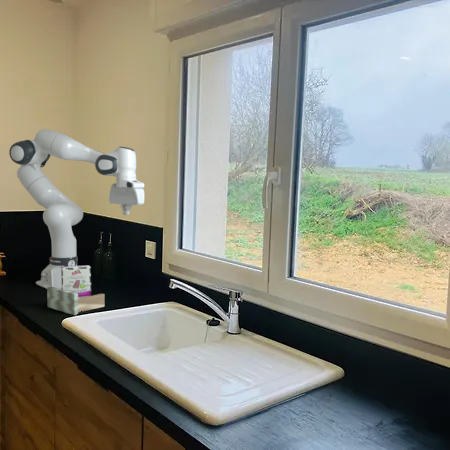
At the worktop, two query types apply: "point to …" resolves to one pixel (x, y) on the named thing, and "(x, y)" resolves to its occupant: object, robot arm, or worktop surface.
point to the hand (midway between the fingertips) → (126, 214)
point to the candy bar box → (77, 280)
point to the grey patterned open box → (72, 301)
